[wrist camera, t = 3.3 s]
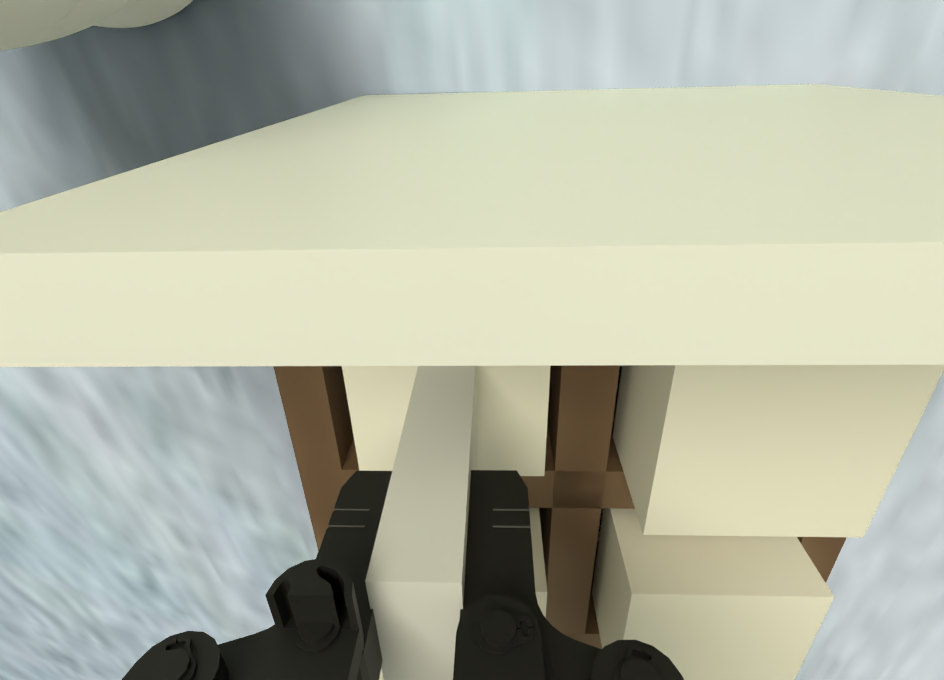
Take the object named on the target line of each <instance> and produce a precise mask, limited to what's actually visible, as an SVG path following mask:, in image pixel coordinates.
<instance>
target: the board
mask: <svg viewBox="0 0 944 680" xmlns="http://www.w3.org/2000/svg"><path fill="white" fill-rule="evenodd" d="M619 369H620V365H555V366H550V384H549V402H548V420H547V438H546V456H545V474H544V476H521V478H522V480H523V481H524V483H525V485H526V486H527V488H528V499H529V508H539V514H540V524H541V534H542V544H543V554H544V564H545V574H546V584H547V604H546V619H547V620H548V621H549V623H550V624H551V625H552V626H553V627H555V628H556V629H557V630H558V631H560V632H561V633H562V634H564V635H566V636H568V637H570V638H572V639H575V640H577V641H580V642H583V643H586V644H588V645H591V646H594V647H597V648H599V649H602V645H601V640H600V634H599V629H598V623H597V618H596V612H595V607H594V601H593V596H592V589H593V582H594V574H595V566H596V559H597V551H598V544H599V542H597V538H598V530H599V522H600V515H601V508H619V509H635V507H634V504H633V501H632V497H631V494H630V491H629V488H628V484H627V481H626V478H625V475H624V472H623V468H622V465H621V462H620V459H619V456H618V452H617V449H616V446H615V443H614V439H613V431H614V423H615V416H616V408H617V401H618V393H619V392H617V384H618V377H619ZM274 370H275V374H276V379H277V383H278V387H279V391H280V395H281V399H282V403H283V407H284V411H285V415H286V420H287V424H288V428H289V432H290V436H291V440H292V444H293V448H294V452H295V457H296V461H297V465H298V469H299V473H300V477H301V481H302V485H303V489H304V493H305V498H306V502H307V506H308V510H309V514H310V518H311V522H312V526H313V530H314V534H315V539H316V543H317V547H318V551H319V549H320V546H321V543H322V541H323V538H324V535H325V532H326V529H327V528H328V524H329V521H330V518H331V515H332V512H333V511H334V507H335V504H336V501H337V498H338V495H339V493H340V490H341V487H342V486H343V485H344V484H345V483H346V482H347V481H348V480H349V478H350V477H351V476H352V475H353V474H354V473H355V472H356V471H359V465H358V459H357V453H356V447H355V442H354V436H353V430H352V424H351V418H350V412H349V406H348V400H347V395H346V389H345V383H344V377H343V371H342V366H274ZM797 538H798V540H799V541H800V543H801V545H802V546H803V548H804V549H805V551H806V553H807V554H808V556H809V557H810V559H811V561H812V562H813V564H814V565H815V567H816V569H817V570H818V572H819V573H820V575H821V576H822V578H823V580H824V581H825V583H826V581H827V579H828V577H829V574H830V572H831V570H832V568H833V566H834V564H835V561H836V559H837V557H838V555H839V553H840V551H841V548H842V546H843V544H844V542H845V540H846V538H847V537H797Z"/></svg>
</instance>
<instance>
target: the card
mask: <svg viewBox="0 0 944 680" xmlns="http://www.w3.org/2000/svg"><path fill="white" fill-rule="evenodd" d="M555 365H944V96H940V95H929V94H919V93H908V92H897V91H887V90H876V89H865V88H855V87H844V86H833V85H822V84H789V85H750V86H710V87H671V88H631V89H592V90H552V91H512V92H473V93H433V94H394V95H364V96H360V97H357V98H354V99H351V100H348V101H345V102H342V103H339V104H336V105H332V106H329V107H326V108H323V109H320V110H317V111H314V112H311V113H307V114H304V115H301V116H298V117H295V118H292V119H289V120H286V121H283V122H279V123H276V124H273V125H270V126H267V127H264V128H261V129H258V130H255V131H251V132H248V133H245V134H242V135H239V136H236V137H233V138H230V139H227V140H223V141H220V142H217V143H214V144H211V145H208V146H205V147H202V148H198V149H195V150H192V151H189V152H186V153H183V154H180V155H177V156H174V157H170V158H167V159H164V160H161V161H158V162H155V163H152V164H149V165H146V166H142V167H139V168H136V169H133V170H130V171H127V172H124V173H121V174H118V175H114V176H111V177H108V178H105V179H102V180H99V181H96V182H93V183H90V184H86V185H83V186H80V187H77V188H74V189H71V190H68V191H65V192H61V193H58V194H55V195H52V196H49V197H46V198H43V199H40V200H37V201H33V202H30V203H27V204H24V205H21V206H18V207H15V208H12V209H9V210H5V211H2V212H0V367H123V366H555Z"/></svg>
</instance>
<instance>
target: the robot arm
mask: <svg viewBox="0 0 944 680" xmlns="http://www.w3.org/2000/svg"><path fill="white" fill-rule="evenodd" d="M477 446H478V436H477V396H476V366H418V369H417V373H416V377H415V381H414V385H413V389H412V393H411V397H410V401H409V405H408V409H407V413H406V418H405V422H404V426H403V430H402V434H401V438H400V442H399V446H398V450H397V454H396V458H395V462H394V466H393V470H392V471H356V472H355V473H354V474H353V475H352V476H351V477H350V478H349V480H348V481H347V482H346V483H345V484H344V485H343V486H342V487H341V490H340V493H339V495H338V498H337V501H336V504H335V507H334V511H333V512H332V515H331V518H330V521H329V524H328V528H327V529H326V532H325V535H324V538H323V541H322V543H321V546H320V549H319V552H318V555H317V557H316V559H315V560H308V561H304V562H302V563H300V564H297V565H295V566H293V567H291V568H289V569H288V570H286V571H285V572H284V573H283V574H282V575H281V576H279V577H278V578H277V579H276V580H275V581H274V583H273V584H272V586H271V587H270V589H269V590H268V592H267V594H266V598H267V601H268V604H269V607H270V610H271V613H272V616H273V619H274V622H275V625H273V626H272V627H270V628H269V629H266V630H264V631H261V632H259V633H256V634H253V635H250V636H246V637H243V638H239V639H236V640H233V641H229V642H226V643H222V644H219V645H217V643H216V641H215V639H214V638H212V637H211V636H209V635H207V634H206V633H204V632H195V631H187V632H183V633H180V634H176V635H173V636H170V637H168V638H166V639H165V640H163V641H161V642H160V643H158V644H156V645H155V646H153V647H152V648H151V649H149V650H148V651H147V652H146V653H145V654H144V655H143V656H142V657H141V658H140V659H139V660H138V661H137V662H136V663H135V664H134V666H133V667H132V668H131V669H130V670H129V672H128V673H127V674H126V675H125V677H124V678H123V679H122V680H379V677H380V671H381V668H382V673H383V678H384V680H684V678H683V677H682V675H681V673H680V672H679V671H678V669H677V668H676V667H675V665H674V664H673V663H672V661H671V660H670V659H669V657H667V656H666V655H664V654H663V653H662V652H660V651H659V650H658V649H656V648H655V647H654V646H652V645H649V644H646V643H643V642H641V641H638V640H617V641H615V642H613V643H611V644H608V645H606V646H604V647H603V648H602V649H599V648H597V647H594V646H591V645H588V644H586V643H583V642H580V641H577V640H575V639H572V638H570V637H568V636H566V635H564V634H562V633H561V632H560V631H558V630H557V629H556V628H555V627H553V626H552V625H551V624H550V623H549V621H548V620H547V619H546V618H545V617H544V615H543V613H542V611H541V609H540V607H539V605H538V602H537V597H536V592H535V579H534V566H533V552H532V539H531V528H530V512H529V499H528V488H527V486H526V485H525V483H524V481H523V480H522V478H521V476H520V475H519V473H518V472H517V470H476V468H477Z"/></svg>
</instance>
